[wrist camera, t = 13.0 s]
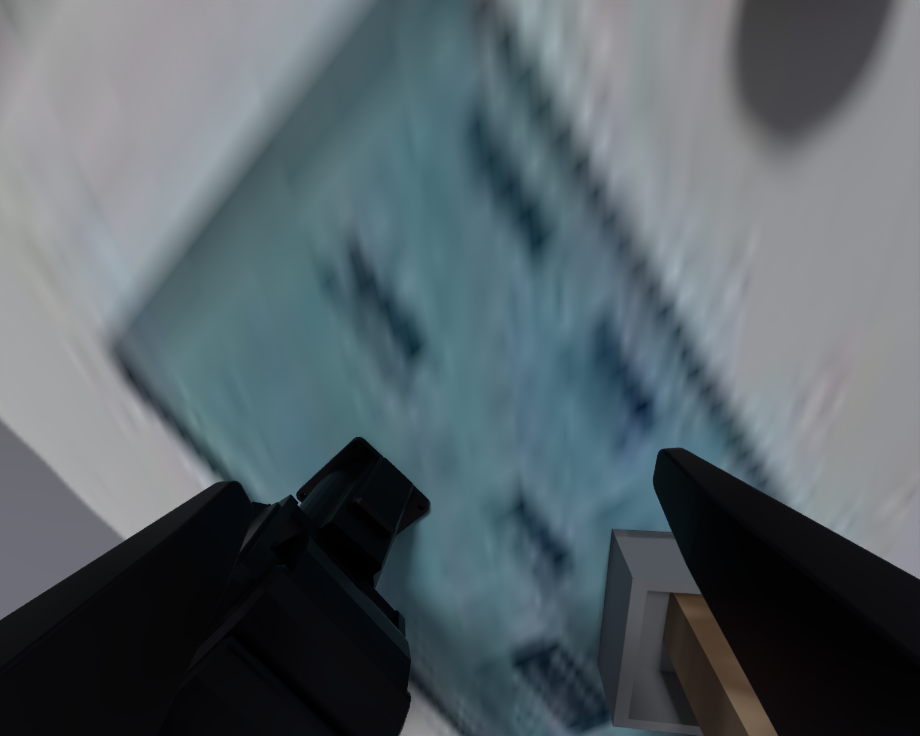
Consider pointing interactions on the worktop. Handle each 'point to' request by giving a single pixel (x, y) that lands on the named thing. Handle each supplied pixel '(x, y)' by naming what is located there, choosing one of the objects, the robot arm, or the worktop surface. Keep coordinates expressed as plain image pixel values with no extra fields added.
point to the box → (643, 633)
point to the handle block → (711, 671)
